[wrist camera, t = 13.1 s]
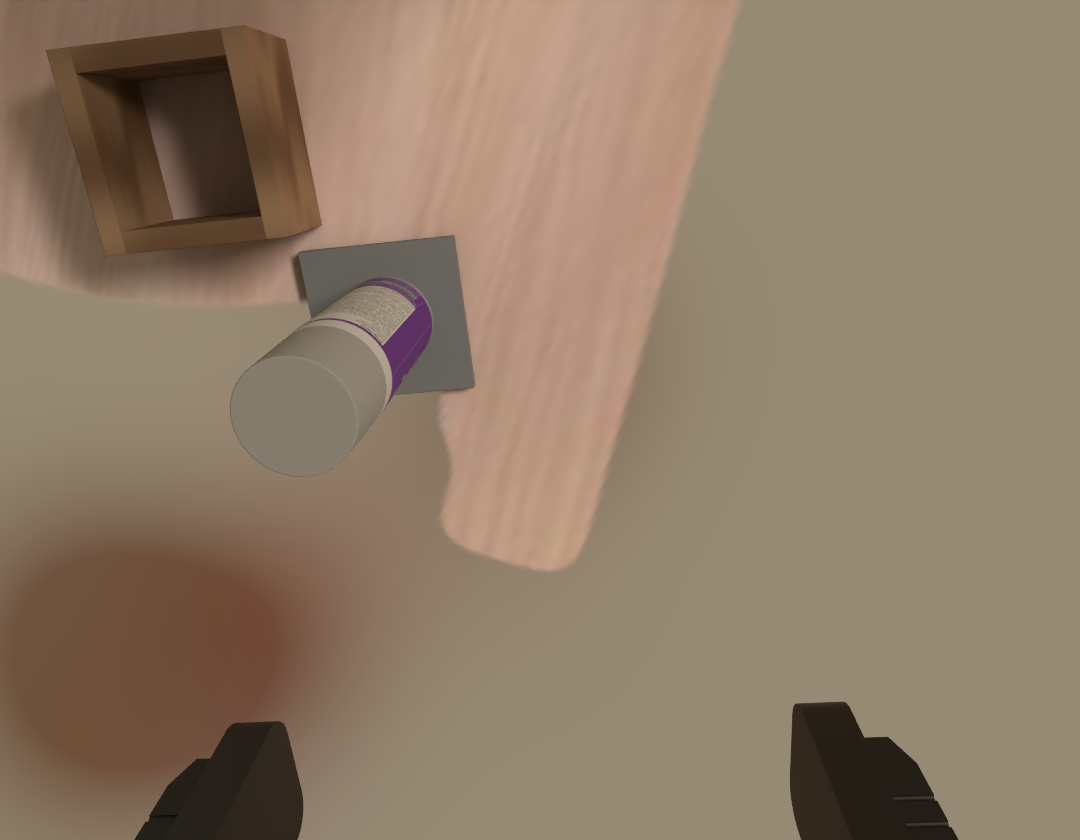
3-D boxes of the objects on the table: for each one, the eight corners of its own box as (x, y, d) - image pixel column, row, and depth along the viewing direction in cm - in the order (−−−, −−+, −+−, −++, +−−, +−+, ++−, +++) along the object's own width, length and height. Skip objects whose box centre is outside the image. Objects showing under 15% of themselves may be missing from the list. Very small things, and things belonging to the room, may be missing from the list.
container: (416, 376, 42) (337, 499, 28) (333, 343, 41) (210, 450, 27) (447, 297, 40) (380, 384, 26) (361, 261, 40) (246, 330, 26)
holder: (111, 60, 37) (45, 50, 33) (285, 39, 37) (243, 25, 32) (159, 241, 40) (105, 256, 36) (321, 224, 40) (288, 237, 35)
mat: (301, 250, 40) (297, 252, 40) (454, 235, 40) (452, 236, 39) (331, 397, 43) (328, 400, 42) (475, 384, 42) (473, 387, 42)
